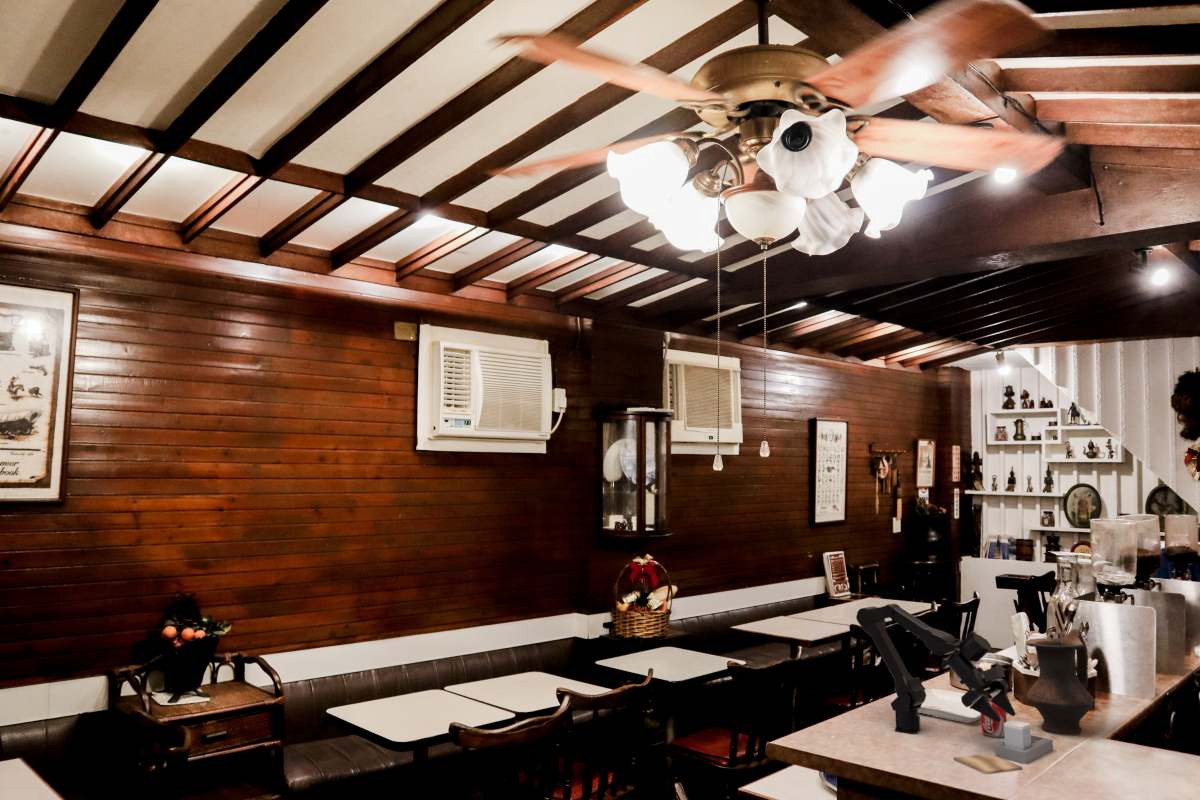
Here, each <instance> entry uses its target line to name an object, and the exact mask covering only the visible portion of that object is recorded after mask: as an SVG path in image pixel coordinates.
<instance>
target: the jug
mask: <svg viewBox="0 0 1200 800" xmlns="http://www.w3.org/2000/svg"><path fill="white" fill-rule="evenodd" d="M1025 643H1026V644H1025V645H1027V646H1028V647H1035V652H1036V657H1037V663H1038V669H1039V675H1038V679H1036V681H1035V682H1034V683H1033V685H1032V686H1031V687H1030V688H1029V690H1028V692H1027V693H1026V699H1027V700H1028V701H1029V702H1030V703H1031V704H1032V705H1033V707H1034V708H1035V709H1036V710H1037V711H1038V712H1039V714H1040V716H1041V717H1042V719H1043V722H1042V723H1041V726H1040V727H1041V729H1042V730H1043V731H1046V732H1051V733H1055V734H1061V735H1062V734H1063V735H1076V734H1077V735H1078V734H1081V733H1082V731H1083V729H1082V727H1081V725H1080V721H1081V720H1082V718H1084V717H1085V715H1086V714H1088V712H1089V711H1090V710H1091V709H1092V708H1093V707H1094V705H1095V704H1096V700H1095V698H1094V697H1093V696H1092V694H1091V693H1090V692H1089V691H1088V685H1089V672H1088V671H1089V670H1088V669H1089V664H1088V662H1089V661H1088V658H1089V657H1088V649H1087V644H1086V642H1085V640H1084V638H1083V636H1082V631H1081V630H1080V629H1077V628H1073V629H1071V630H1070V632H1068V633H1067V634H1066V635H1065V636H1062V637H1059V638H1058V637H1057V638H1055V637H1053V638H1049V637H1048V638H1031V639H1029V640H1027V641H1026V642H1025Z"/></svg>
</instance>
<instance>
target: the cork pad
mask: <svg viewBox="0 0 1200 800" xmlns="http://www.w3.org/2000/svg"><path fill="white" fill-rule="evenodd" d="M953 761H955V762H957V763H959V764H962V765H964V766H967V767H969V768H971V769H973V770H976V771H978V772H980V773H982V774H984V775H988V774H997V773H1004V772H1014V771H1019V770H1020V771H1021V770H1023V767H1022V766H1021V765H1018V764H1015V762H1012V761H1010V760H1006V759H1002V758H999V757H997V756H996V755H994V754H992V753H982V754H981V753H980V754H973V755H964V756H956V757H953Z"/></svg>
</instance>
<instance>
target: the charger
mask: <svg viewBox="0 0 1200 800" xmlns="http://www.w3.org/2000/svg"><path fill="white" fill-rule="evenodd" d="M1031 733H1032V732H1031V723H1028V722H1023V721H1019V720H1013V719H1011V720H1009V721H1006V723H1004V736H1003V737H1004V742H1005V746H1008V747H1012V748H1016V749H1021V750H1026V749H1028V748H1030V747H1031V735H1032V734H1031Z"/></svg>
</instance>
